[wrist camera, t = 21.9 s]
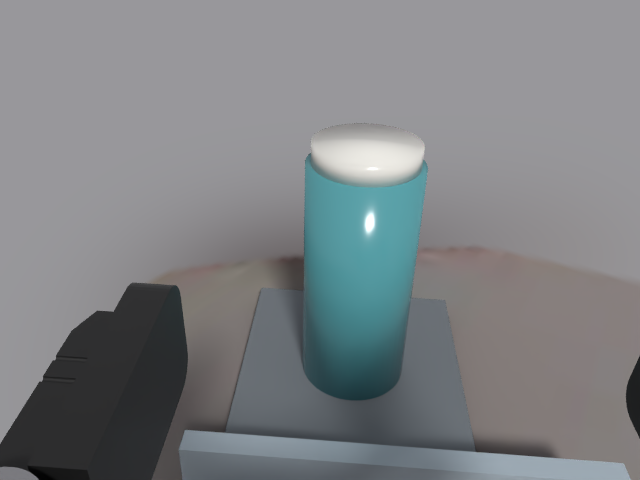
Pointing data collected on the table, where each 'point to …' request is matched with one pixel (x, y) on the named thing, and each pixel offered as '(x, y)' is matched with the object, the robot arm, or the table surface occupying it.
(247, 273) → the table surface
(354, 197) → the jar
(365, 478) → the wall
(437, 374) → the mat
